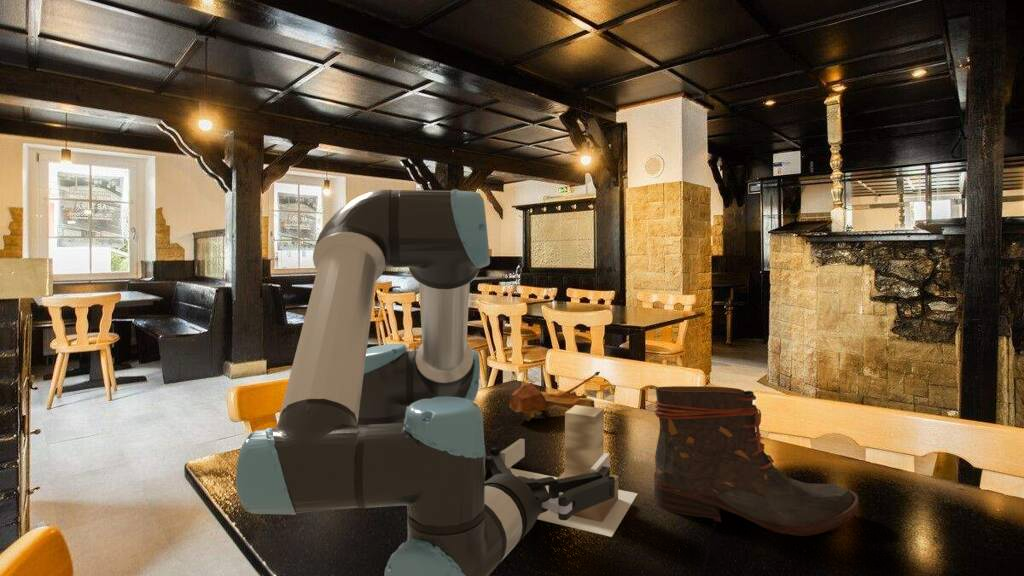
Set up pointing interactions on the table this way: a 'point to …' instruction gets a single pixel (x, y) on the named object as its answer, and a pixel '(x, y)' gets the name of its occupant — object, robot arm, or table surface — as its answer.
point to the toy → (545, 399)
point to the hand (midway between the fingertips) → (563, 454)
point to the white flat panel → (582, 523)
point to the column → (583, 439)
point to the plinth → (597, 506)
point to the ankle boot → (733, 466)
